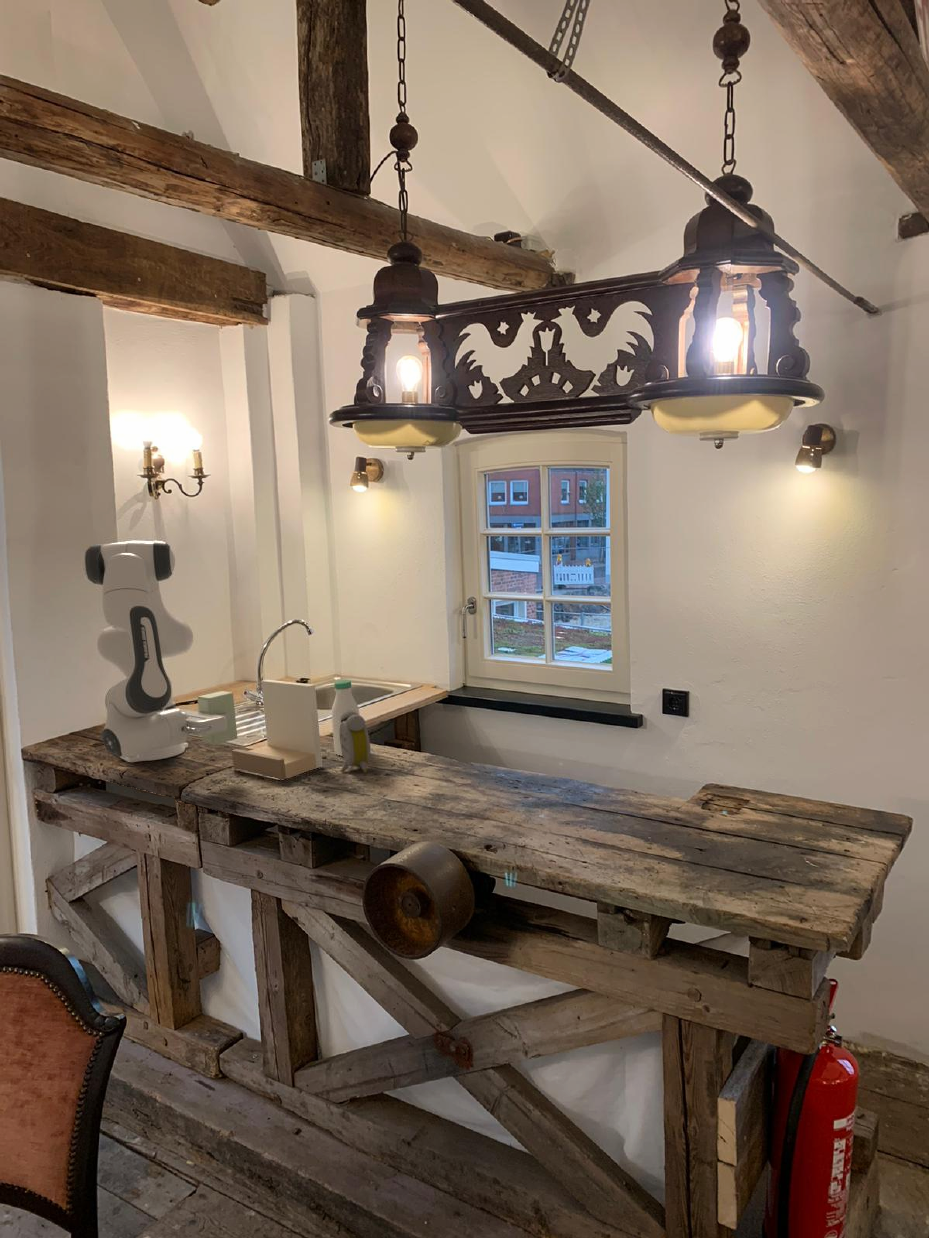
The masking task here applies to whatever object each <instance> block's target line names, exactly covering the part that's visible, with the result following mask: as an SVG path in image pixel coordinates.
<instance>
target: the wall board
mask: <svg viewBox="0 0 929 1238" xmlns="http://www.w3.org/2000/svg"><path fill="white" fill-rule="evenodd" d="M260 683H261V690H262V691H261V693H262V703H263V712H264V720H265V730H266V742H267V745H264V746H261V747H257V748H254V749H251V750H243V749H238V748H236V749H233V750H231V756H232V757H231V758H232V763H233V764H232V765H233V766H232V767H233V770H234V769H241V770H248V771H251V772H255V773H260V774H263V775H266V776H270V777H275V778H278V779H280V780H282V779H285V778H287V777H292V776H294V775H297V774H299V773H304V772H306V771H309V770H313V769H316V768H318V767H321V768H323V760H322V749H321V748H322V747H321V746H322V745H321V735H320V734H321V733H320V726H319V725H320V724H319V715H318V703H317V694H316V692H317V691H316V685H315V684H314V683H313V684H312V683H303V682H293V681H283V680H276V679H274V680H273V679H263V680H261V681H260ZM316 770H317V769H316ZM313 771H314V770H313ZM304 774H305V773H304Z"/></svg>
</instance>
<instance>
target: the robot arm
mask: <svg viewBox="0 0 929 1238" xmlns="http://www.w3.org/2000/svg"><path fill="white" fill-rule="evenodd" d="M175 558H176V557H175V555H174V552H173V550H172V548H171V546H170V545H169V544H168V543H167V542H165V541H162V540H153V541H149V540H148V541H147V540H128V541H121V542H120V541H119V542H111V543H110V542H109V543H105V544H104V543H103V544H102V543H98V544H94V545H91V546H89V547H88V548H87V549H86V550H85V553H84V557H83V561H82V562H83V571H84V573H85V574H86V577H87V579H88V580H89V582H91V583H93V584H94V585H99V586H100V585H101V586H102V610H103V615H104V619H105V622H106V623H107V624H108V625H109V626H108V627H106V628H103V629H102V630H101V632H100V634H98V637H97V645H96V646H97V649H98V652H99V655H100V656H101V657H102V658H103V659H104V661H107V662H108V663H111V664H112V665H114V666H115V667H116V668H117V669H118V670H120V672H121V673H122V674H123V675H124V678H125V679H123V680H121V681H119V682H118V683H116V684H114V685H113V686H112V687H111V688H110V689H109V690H108V691H107V692H106V695H105V699H104V700H105V708H106V721H105V725H104V727H103V729H102V731H101V739H102V743H103V745H104V747H105V748H106V750H107V752H109V754H111V755H112V756H113V757H116V758H120V759H122V760H124V761H126V762H127V763H135V762H143V761H144V762H146V761H157V760H162V759H168V758H171V757H176V756H178V755H180V754H182V753H184V752H185V750H186V749H187V748H189V743H188V742H186V740H187V739H188V737H190V735H191V736H197V737H202V736H204V735H210V734H214V733H219V732H223V731H225V730H226V729H227V722H226V721H228V720H229V719H230V715H229V713H222V714H220V715H215V714H209V713H203V712H199V711H197V710H192V709H185V708H183V709H182V708H176V704H175V703H174V696H173V695H174V694H173V688H172V681H171V680H172V679H170V677H169V676H168V674H167V671H166V669H165V668H164V667H165V666H164V664H163V659H165V658H173V657H176V656H179V655H183V654H186V653H188V652H189V650H190V649H191V648H192V646H193V643H194V633H193V630H192V627H191V626H190V625H189V624H188V623H187V622H186V621H185V620H182V619H181V618H178V617H176V616H174V615H173V614H172V613H170V611H168V609H167V608H166V607H165V605H164V602H163V599H162V594H161V590H160V584H159V582H161V581H165V580H168V579H170V577H171V576H173V571H174V570H175V566H176V559H175Z"/></svg>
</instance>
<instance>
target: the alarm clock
mask: <svg viewBox="0 0 929 1238" xmlns="http://www.w3.org/2000/svg"><path fill="white" fill-rule="evenodd" d="M340 721H341V724H340V745H341V750H342V755H343V756H342V758H343V760H344V761H343V762H344V763H343V766H342V768H341V771H340V772H342V773H345V772H346V771H347V769H348V768H349V767H354V766H360V767H361V770H362V771H363V773H364V774H368V767H367V764H368V763H369V761H370V758H371V742H370V737H369V732H368V731H369V730H368V727H367V725H366V720H365V719H364V717H363V716H361V715H360V714H359V715H358V714H357V713H356V712H355V711H352V710H347V711H346V712H344V713H343V714H342V716H341V720H340Z"/></svg>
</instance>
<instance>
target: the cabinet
mask: <svg viewBox="0 0 929 1238" xmlns="http://www.w3.org/2000/svg"><path fill="white" fill-rule="evenodd" d="M197 707H198V712H203V713H209V714H215V715H220V714H222V713H229V715H230V719H229V720H228V721H226V722H227V729H226V730H225V731H223V732H219V733H214V734H210V735H204V736H201V743H202V744H205V745H211V746H217V745H220V744H223V743H228V742H231V741H233V740H237V739H238V730H237V720H236V709H235V700H234V693H233V692H231V691H223V690H221V691H216V692H212V693H208V694H203V695H198V696H197Z"/></svg>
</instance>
